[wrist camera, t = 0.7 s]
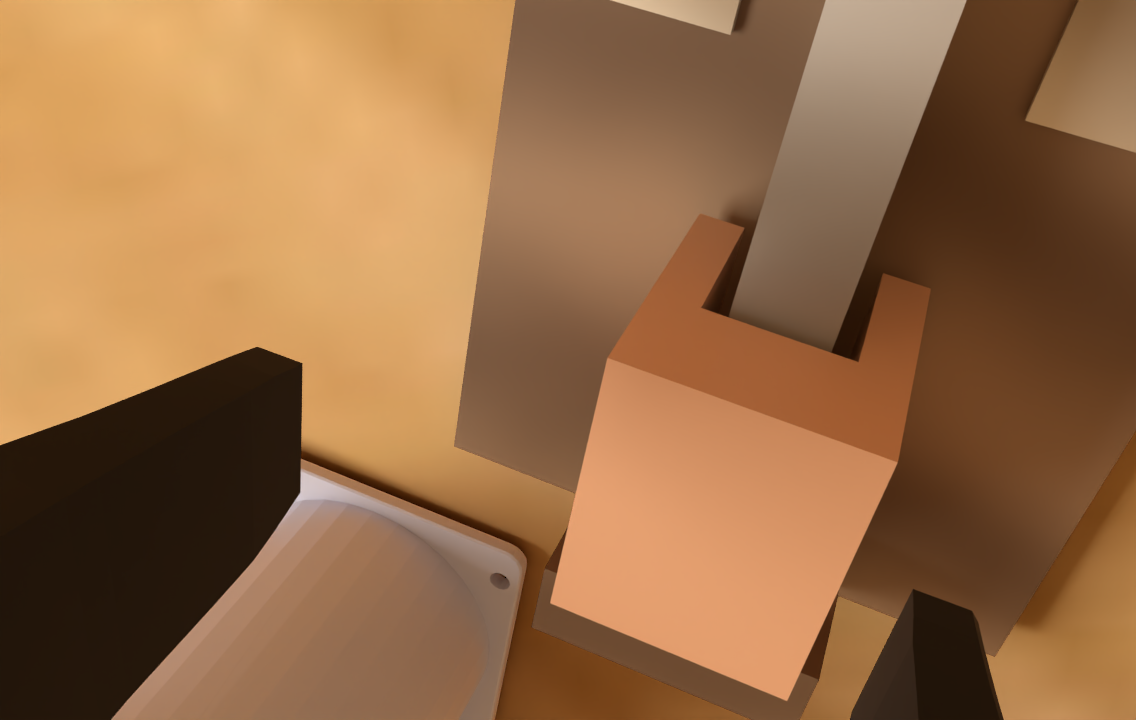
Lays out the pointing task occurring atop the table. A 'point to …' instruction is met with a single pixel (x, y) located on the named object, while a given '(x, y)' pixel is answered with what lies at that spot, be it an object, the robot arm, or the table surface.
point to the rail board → (946, 232)
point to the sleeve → (733, 470)
